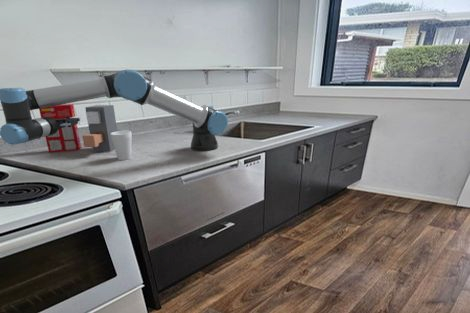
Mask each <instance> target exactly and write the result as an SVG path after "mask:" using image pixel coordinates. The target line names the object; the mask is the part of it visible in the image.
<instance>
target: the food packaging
mask: <svg viewBox="0 0 470 313" xmlns="http://www.w3.org/2000/svg"><path fill="white" fill-rule="evenodd" d="M38 110H39V114H40V118H42V117H51V118H53V119H54V120H55V119H61V118H66V116H69V119H70V117H75V116H76V112H75V107H74V104H73V103H67V104H62V105H56V106H51V107H45V108H40V109H38ZM44 138H45V140H46V145H47V149H48V153H50V154H51V153H61V152H63V153H64V152H74V151H80V150H81V149H82V144H81V139H80V133H79V127H78V124H76V125H73V126H71V127H67V126H66V127H64V128H61V129H58V131H57V132H56V133H55V134H53V135H49V136H45V137H44Z"/></svg>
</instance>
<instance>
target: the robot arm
mask: <svg viewBox="0 0 470 313" xmlns="http://www.w3.org/2000/svg"><path fill="white" fill-rule="evenodd" d="M105 97H106V98H108V99H112V98H122V99H124V100H127V101H128V100H129V101H131V102H133V103H135V104H137V105H141V106H144V105H149V106H153V107H155V108H157V109H159V110H161V111H165V112H167V113H169V114H171V115H173V116H177V117H178V118H182V120H183V119H184V120H187V122H191V123H192V137H191V142H190V149H191V150H192V151H196V152H206V151H213V150H216V149H218V147H219V143H218V140H217V138H216V136H218V135H221V134H223V133H225V131H226V130H227V128H228V125H229V120H228V116H227V114H225V112H223V111H221V110H217V109H214V106H213V105H206V104H205V105H204V104H203V105H201V106H200V105H198V104H196V103H194V102H192V101H190V100H188V99H186V98H184V97H181V96H178V95H177V94H175V93H172V92H171V91H168V90H165V89H164V88H161V87H160V86H157V85H155V84H154V82H153V79H150V78H148V77H146V76H144V75H142V73H140V72H138V71H137V70H134V69H123V70H120V71H118V72H115V73H113V74H112V73H111V74H108V75H103V76H101V77H100V79H99V78H98V79H94V80H93V79H92V80H88V81H87V80H86V81H80V82H74V83H67V84H61V85H55V86H48V87H42V88H36V89H31V90H26V89H25V88H24V87H1V88H0V103H1V104H0V105H1V108H2V112H3V115H4V119H5V124H3V125H2V126H1V127H0V138H1V139H2V141H4V142H5V143H7V144H8V145H18V144H19V145H20V144H25V143H26V144H27V143H28V142H30V141H33V140H34V141H35V140H39V141H40V140H41V139H42V138H46V137H45V136H49V135H53V134H55V133H56V132H57V131H58V129H61V128H64V127H66V126H67V127H71V126H73V125H76V124H77V125H78V124H79V123H80V122H81V123H82V122H83V116H82V115H75V117H70V119H69V116H66V118H61V119H55V120H54V119H53V118H51V117H42V118H41V117H37V118H32V114H31V111H34V110H39V109H40V108H45V107H51V106H56V105H68V104H73V103H77V102H83V101H90V100H95V99H100V98H105Z"/></svg>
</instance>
